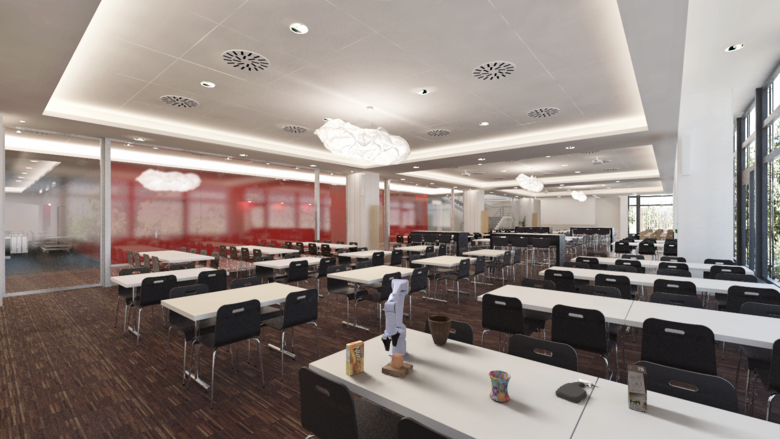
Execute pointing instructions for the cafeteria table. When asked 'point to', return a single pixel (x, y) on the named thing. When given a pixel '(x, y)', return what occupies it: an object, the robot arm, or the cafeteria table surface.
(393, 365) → the terracotta block
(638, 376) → the coffee box
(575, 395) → the spray bottle
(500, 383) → the mug
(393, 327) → the robot arm
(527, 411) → the cafeteria table surface
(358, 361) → the candy box
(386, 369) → the walnut base
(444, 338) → the plant pot
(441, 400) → the cafeteria table surface
